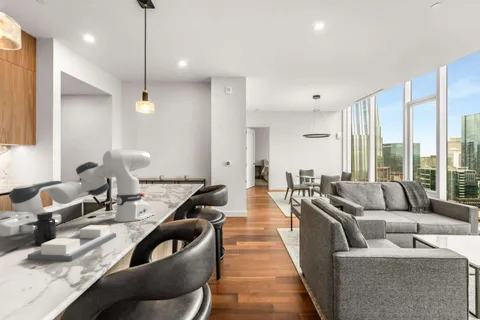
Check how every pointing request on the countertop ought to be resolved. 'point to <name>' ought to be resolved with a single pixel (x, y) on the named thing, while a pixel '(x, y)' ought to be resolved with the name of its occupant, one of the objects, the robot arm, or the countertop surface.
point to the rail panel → (82, 241)
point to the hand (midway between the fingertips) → (46, 225)
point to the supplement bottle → (44, 228)
